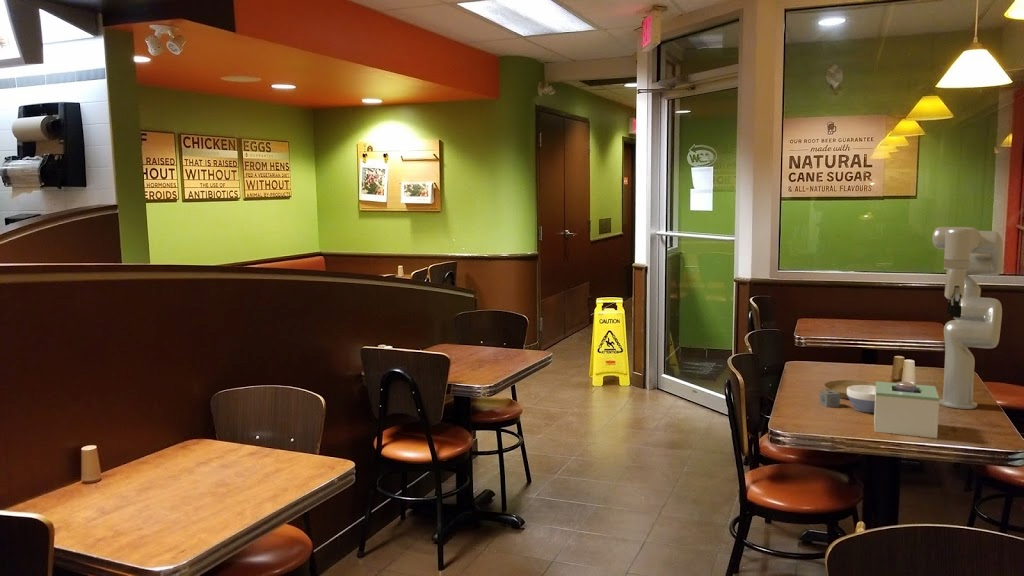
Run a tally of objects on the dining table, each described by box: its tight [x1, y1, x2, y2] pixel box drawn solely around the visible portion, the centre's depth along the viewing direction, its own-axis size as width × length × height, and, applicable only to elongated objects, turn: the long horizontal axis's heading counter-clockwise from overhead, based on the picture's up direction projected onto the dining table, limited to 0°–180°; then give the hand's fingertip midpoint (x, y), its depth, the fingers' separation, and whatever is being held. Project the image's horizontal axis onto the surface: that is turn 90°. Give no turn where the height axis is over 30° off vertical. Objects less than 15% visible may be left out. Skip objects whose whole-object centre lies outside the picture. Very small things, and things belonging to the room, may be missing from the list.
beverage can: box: [896, 381, 917, 393], centre depth 258 cm, size 6×6×15 cm
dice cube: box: [819, 390, 841, 408], centre depth 288 cm, size 5×5×5 cm
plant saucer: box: [823, 379, 876, 400], centre depth 304 cm, size 24×24×3 cm
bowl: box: [847, 385, 876, 414], centre depth 280 cm, size 14×14×8 cm
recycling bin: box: [873, 380, 940, 439], centre depth 257 cm, size 18×18×13 cm
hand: (953, 315), depth 263 cm, fingers open, 9 cm apart
